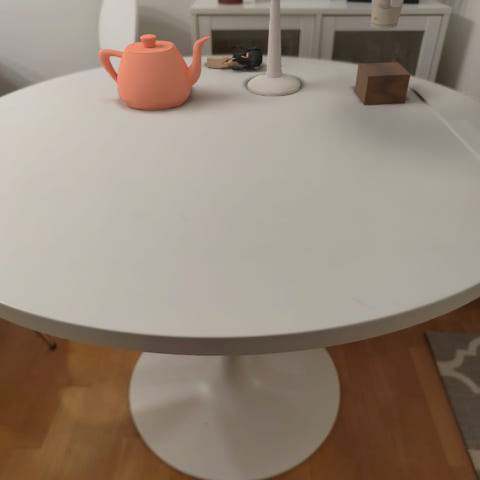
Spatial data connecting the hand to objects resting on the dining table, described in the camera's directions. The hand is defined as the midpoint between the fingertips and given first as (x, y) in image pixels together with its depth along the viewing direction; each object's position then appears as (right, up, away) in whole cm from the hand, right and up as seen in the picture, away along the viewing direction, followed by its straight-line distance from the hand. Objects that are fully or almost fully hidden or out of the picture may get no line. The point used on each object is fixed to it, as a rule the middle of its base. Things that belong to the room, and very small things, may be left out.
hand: (387, 1), depth 81 cm
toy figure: (-28, +8, +42) cm, 51 cm away
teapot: (-45, -7, +26) cm, 52 cm away
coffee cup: (0, -3, +3) cm, 4 cm away
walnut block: (+5, -7, +23) cm, 25 cm away
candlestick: (-18, -2, +30) cm, 35 cm away
